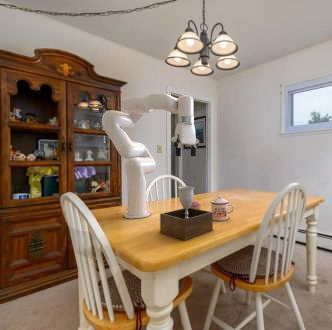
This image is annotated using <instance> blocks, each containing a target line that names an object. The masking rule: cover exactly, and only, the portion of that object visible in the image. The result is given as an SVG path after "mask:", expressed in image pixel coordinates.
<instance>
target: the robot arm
mask: <svg viewBox="0 0 332 330" xmlns="http://www.w3.org/2000/svg"><path fill="white" fill-rule="evenodd" d="M120 104H121V107H122V109H123V110H124V111H125V112H123V111H120V110H115V109H110V110H106V111H104V113H103V115H102V118H101V125H102V128H103V130H104V132H105V133H106V136H107V137H108V138H109V139H110V141H111V142H112V144H113V146H114V147H115V149H116V150H117V153H118V154H119V155H120V157H121V158H122V159H127V160H126V162H125V164H124V170H125V174H126V183H127V185H126V186H127V187H126V188H127V189H126V191H127V207H126V211H127V212H126V213H124V218H126V219H130V220H131V219H143V218H146V217H148V216H150V215H151V213H150V211H148V197H147V196H148V194H147V193H148V192H147V185H148V184H147V179H146V176H145V175H150V174H152V173H154V172H155V171H156V168H157V166H156V165H157V164H156V161H155V159H154V157H153V156H152V154H151V153H150V151H149V150H148V148H147V146H146V145H144V143H141V142H138V141H133V140H131V138H130V136H128V134H127V132H126V131H125V130H124V129H131V128H133V127H135V126H136V125H137V124H138V123H139V122H140V121H141V120H142V119H143V118H144V117H145V115H146V114H151V113H153V112H154V110H162V111H166V112H168V113H171V114H177V123H176V126H175V131H174V136H172V137H171V138H170V141H171V144H172V146H173V147H174V151H175V157H181V156H182V148H181V146H182V145H183V146H190V157H196V156H197V149H198V147H199V143H200V140H199V139H198V138H197V137H196V127H195V120H194V98H193V96H190V95H187V94H186V95H185V94H184V95H180V96H178V98H177V97H174V96H172V95H170V94H167V93H149V94H148V95H144V96H143V95H138V96H137V95H136V96H135V95H134V96H133V95H132V96H126V97H123V99H121V103H120ZM122 128H123V129H122Z"/></svg>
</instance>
